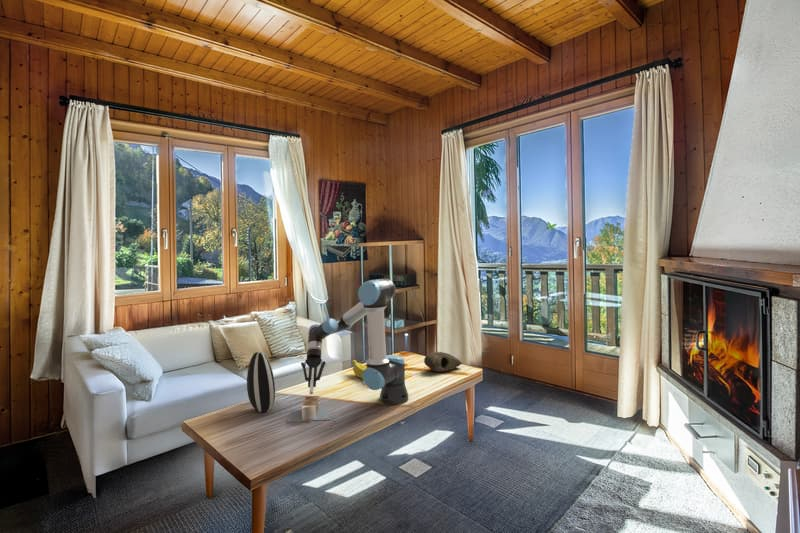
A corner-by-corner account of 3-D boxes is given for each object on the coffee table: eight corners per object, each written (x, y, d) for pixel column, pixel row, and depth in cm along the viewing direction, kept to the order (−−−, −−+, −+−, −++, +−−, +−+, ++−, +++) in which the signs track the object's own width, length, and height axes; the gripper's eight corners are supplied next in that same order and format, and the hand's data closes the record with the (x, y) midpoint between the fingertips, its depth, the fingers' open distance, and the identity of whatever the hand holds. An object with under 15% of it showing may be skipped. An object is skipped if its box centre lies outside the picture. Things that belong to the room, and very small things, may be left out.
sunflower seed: (281, 412, 205) (279, 352, 203) (264, 419, 197) (261, 357, 196) (259, 403, 217) (257, 347, 215) (242, 409, 209) (239, 351, 207)
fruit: (375, 386, 240) (375, 370, 239) (347, 374, 262) (346, 360, 261) (385, 383, 244) (384, 368, 244) (356, 372, 267) (356, 358, 266)
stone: (448, 353, 282) (464, 357, 270) (444, 371, 280) (460, 376, 269) (422, 347, 267) (438, 351, 255) (417, 366, 265) (433, 371, 254)
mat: (332, 408, 209) (332, 407, 209) (329, 420, 195) (329, 419, 195) (291, 410, 207) (291, 409, 207) (286, 422, 193) (286, 421, 193)
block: (317, 395, 209) (314, 406, 195) (318, 407, 209) (315, 419, 195) (305, 396, 208) (301, 407, 195) (306, 408, 209) (302, 420, 195)
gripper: (327, 354, 226) (325, 395, 211) (302, 355, 225) (299, 396, 210) (325, 347, 221) (323, 389, 205) (301, 348, 220) (297, 390, 204)
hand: (311, 392), depth 207 cm, fingers closed
